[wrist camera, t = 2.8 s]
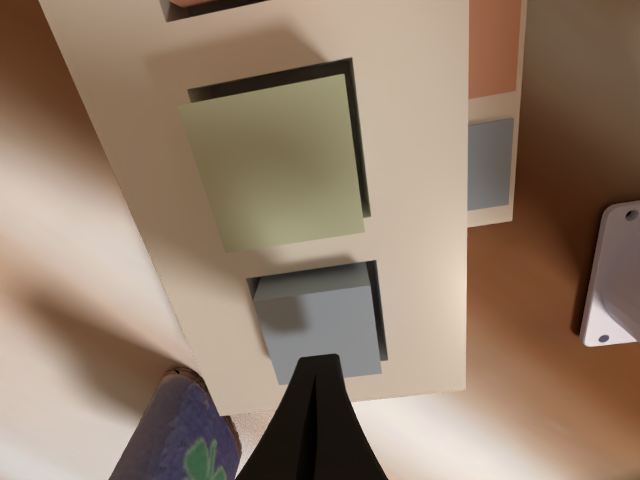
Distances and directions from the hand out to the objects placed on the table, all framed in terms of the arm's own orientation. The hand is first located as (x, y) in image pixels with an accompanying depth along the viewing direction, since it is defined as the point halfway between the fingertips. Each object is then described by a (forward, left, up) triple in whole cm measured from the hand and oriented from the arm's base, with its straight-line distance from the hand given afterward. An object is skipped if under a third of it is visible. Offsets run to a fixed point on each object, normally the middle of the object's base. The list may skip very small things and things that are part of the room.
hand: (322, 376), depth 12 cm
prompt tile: (-8, -7, -6) cm, 12 cm away
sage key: (0, -7, -4) cm, 8 cm away
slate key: (0, 0, -5) cm, 5 cm away
